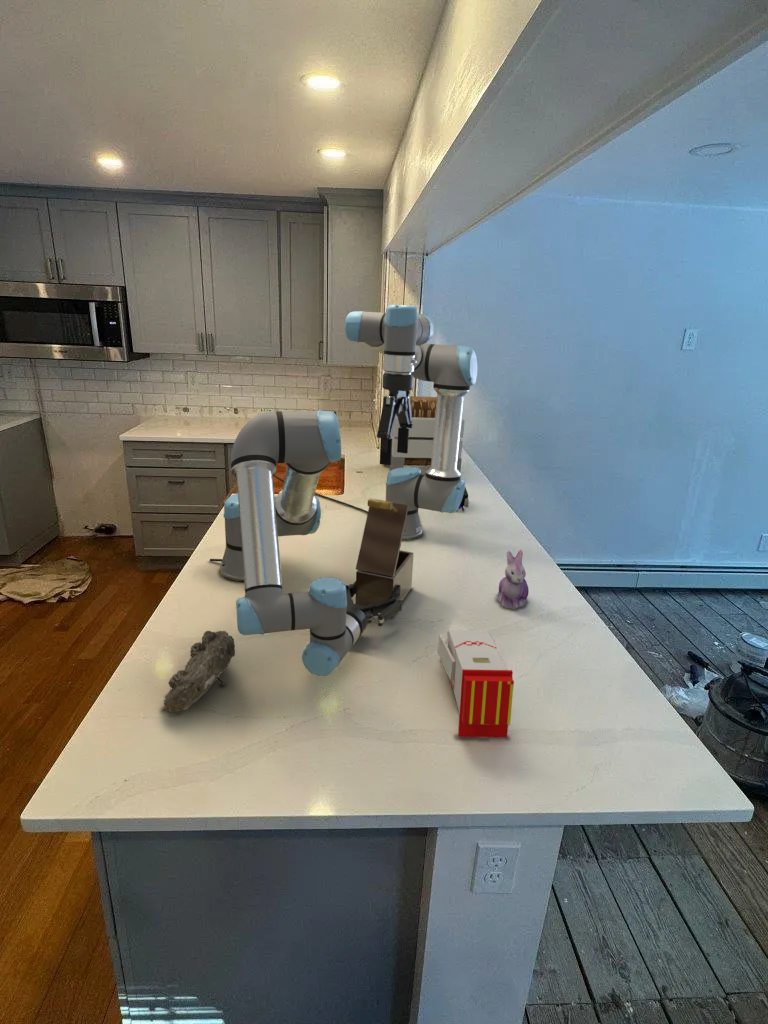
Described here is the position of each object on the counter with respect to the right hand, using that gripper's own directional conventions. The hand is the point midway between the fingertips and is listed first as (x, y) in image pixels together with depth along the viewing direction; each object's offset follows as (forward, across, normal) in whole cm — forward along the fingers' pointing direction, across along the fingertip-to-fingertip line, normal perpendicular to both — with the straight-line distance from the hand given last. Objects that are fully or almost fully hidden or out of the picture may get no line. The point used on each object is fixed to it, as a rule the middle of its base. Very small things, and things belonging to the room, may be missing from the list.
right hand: (394, 458), depth 144 cm
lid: (+20, -6, 0) cm, 20 cm away
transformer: (+39, +123, +26) cm, 132 cm away
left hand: (+33, -7, 0) cm, 34 cm away
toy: (+39, -33, -30) cm, 59 cm away
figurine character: (+39, +82, -2) cm, 91 cm away
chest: (+39, -2, 0) cm, 39 cm away
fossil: (+39, -51, +22) cm, 68 cm away
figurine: (+39, +10, -33) cm, 52 cm away
